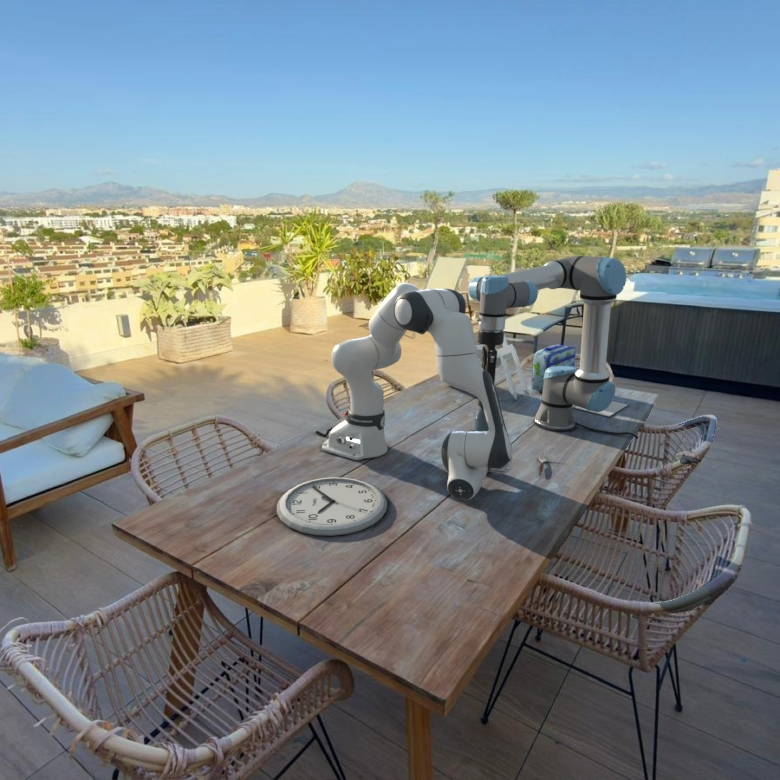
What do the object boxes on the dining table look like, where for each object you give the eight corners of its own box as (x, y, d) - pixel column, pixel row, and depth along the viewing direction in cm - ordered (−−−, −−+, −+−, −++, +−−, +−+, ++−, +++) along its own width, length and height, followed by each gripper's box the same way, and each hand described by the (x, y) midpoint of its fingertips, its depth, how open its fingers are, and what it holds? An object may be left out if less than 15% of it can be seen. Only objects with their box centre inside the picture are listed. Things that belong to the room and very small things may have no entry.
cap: (482, 402, 162) (483, 395, 162) (495, 405, 160) (496, 398, 159) (475, 405, 159) (475, 399, 158) (488, 409, 156) (488, 402, 156)
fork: (535, 475, 162) (535, 469, 161) (539, 455, 176) (540, 450, 175) (543, 477, 161) (544, 471, 160) (547, 456, 175) (548, 451, 175)
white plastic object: (461, 429, 252) (437, 405, 227) (444, 352, 274) (420, 323, 250) (535, 404, 240) (518, 377, 215) (510, 326, 262) (492, 293, 237)
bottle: (475, 474, 162) (480, 404, 156) (469, 466, 168) (473, 398, 161) (492, 472, 164) (498, 403, 157) (485, 465, 169) (490, 397, 162)
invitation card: (608, 416, 214) (573, 407, 224) (608, 416, 214) (573, 408, 224) (628, 404, 229) (594, 396, 238) (628, 405, 229) (594, 397, 238)
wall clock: (392, 527, 129) (268, 531, 127) (391, 533, 130) (269, 537, 127) (383, 473, 158) (282, 475, 155) (383, 478, 158) (282, 480, 156)
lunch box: (547, 397, 237) (552, 352, 231) (526, 391, 245) (531, 348, 238) (574, 386, 255) (580, 344, 249) (554, 381, 262) (559, 340, 256)
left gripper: (510, 462, 148) (517, 444, 160) (440, 450, 154) (451, 434, 167) (508, 482, 150) (515, 463, 162) (439, 470, 156) (450, 452, 169)
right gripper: (475, 324, 161) (470, 395, 168) (481, 335, 144) (475, 415, 151) (499, 324, 161) (494, 396, 168) (509, 336, 143) (502, 416, 150)
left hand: (482, 448), depth 164 cm, fingers closed on bottle, 5 cm apart
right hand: (485, 405), depth 159 cm, fingers open, 5 cm apart
